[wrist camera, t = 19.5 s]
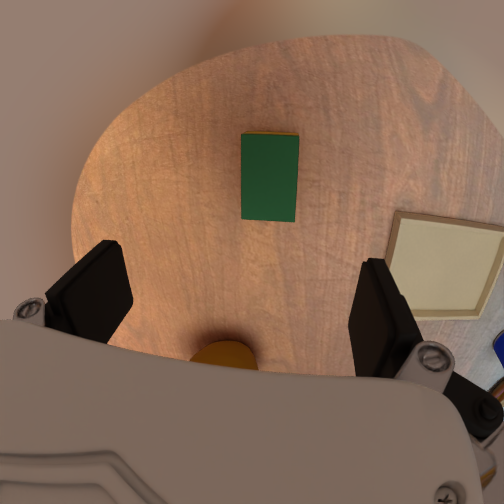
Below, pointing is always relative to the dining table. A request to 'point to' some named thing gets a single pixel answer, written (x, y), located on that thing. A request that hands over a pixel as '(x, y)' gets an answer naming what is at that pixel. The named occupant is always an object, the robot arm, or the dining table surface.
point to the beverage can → (500, 347)
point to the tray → (444, 264)
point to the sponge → (269, 175)
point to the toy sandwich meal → (499, 393)
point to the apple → (227, 355)
